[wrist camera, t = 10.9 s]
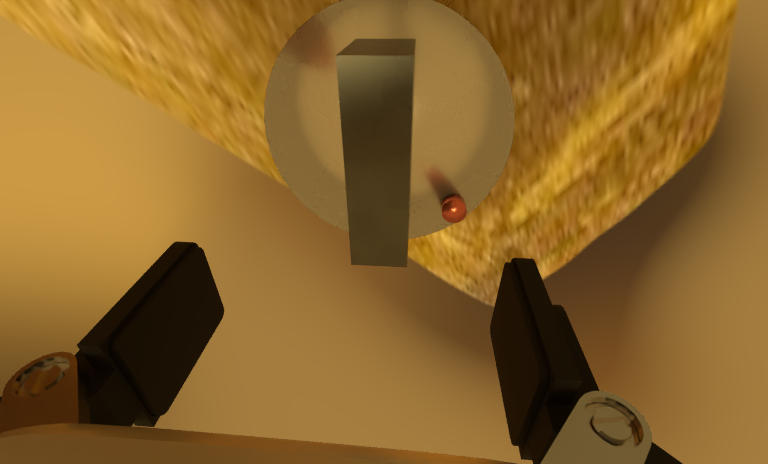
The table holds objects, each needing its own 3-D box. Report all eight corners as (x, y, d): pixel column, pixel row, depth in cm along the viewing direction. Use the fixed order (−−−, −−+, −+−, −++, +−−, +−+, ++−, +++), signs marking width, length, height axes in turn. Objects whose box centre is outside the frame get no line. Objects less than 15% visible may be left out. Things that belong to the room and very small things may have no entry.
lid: (258, -8, 21) (180, -5, 14) (528, -11, 20) (582, -8, 13) (295, 216, 30) (257, 286, 23) (487, 223, 29) (507, 299, 22)
